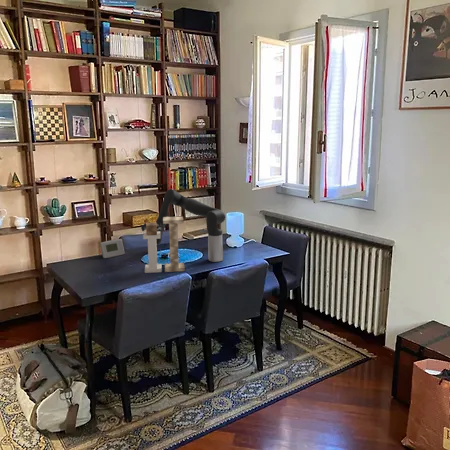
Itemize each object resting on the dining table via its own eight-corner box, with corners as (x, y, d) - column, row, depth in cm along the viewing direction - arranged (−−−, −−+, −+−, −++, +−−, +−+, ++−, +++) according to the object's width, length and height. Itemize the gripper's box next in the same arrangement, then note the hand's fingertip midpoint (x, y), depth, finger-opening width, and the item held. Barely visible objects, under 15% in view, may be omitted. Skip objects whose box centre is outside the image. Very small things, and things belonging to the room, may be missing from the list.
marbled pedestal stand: (184, 266, 292) (182, 216, 284) (184, 271, 282) (183, 219, 275) (164, 266, 290) (163, 217, 283) (164, 271, 281) (163, 220, 273)
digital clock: (102, 259, 307) (101, 243, 304) (99, 256, 314) (98, 240, 312) (126, 255, 314) (125, 240, 312) (122, 252, 322) (121, 237, 320)
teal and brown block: (157, 227, 295) (157, 218, 294) (156, 235, 276) (156, 225, 275) (147, 227, 295) (147, 218, 293) (146, 235, 275) (146, 225, 274)
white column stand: (161, 266, 290) (160, 231, 285) (161, 272, 280) (160, 235, 275) (145, 267, 289) (143, 231, 284) (144, 272, 279) (143, 235, 274)
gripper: (142, 226, 304) (140, 218, 289) (164, 225, 306) (163, 218, 291) (142, 237, 302) (140, 230, 287) (164, 236, 304) (163, 229, 289)
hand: (152, 224), depth 289 cm, fingers open, 8 cm apart
